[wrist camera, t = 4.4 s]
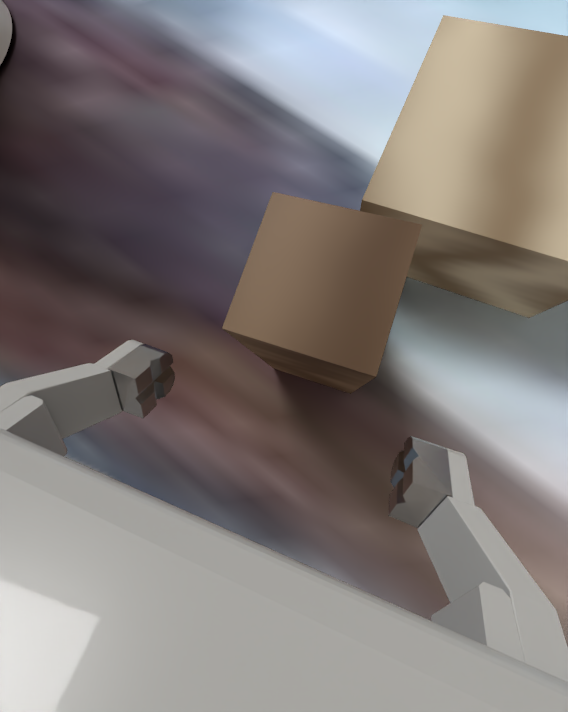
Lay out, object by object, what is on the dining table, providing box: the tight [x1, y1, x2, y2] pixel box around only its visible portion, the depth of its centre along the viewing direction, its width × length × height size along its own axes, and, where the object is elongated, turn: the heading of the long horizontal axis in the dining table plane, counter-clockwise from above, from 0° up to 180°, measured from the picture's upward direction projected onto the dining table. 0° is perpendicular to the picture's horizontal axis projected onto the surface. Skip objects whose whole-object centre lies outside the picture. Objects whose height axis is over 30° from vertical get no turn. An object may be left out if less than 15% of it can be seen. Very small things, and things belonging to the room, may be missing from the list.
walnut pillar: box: [222, 192, 422, 394], centre depth 15 cm, size 5×5×10 cm
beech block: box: [360, 15, 568, 318], centre depth 17 cm, size 11×11×6 cm
